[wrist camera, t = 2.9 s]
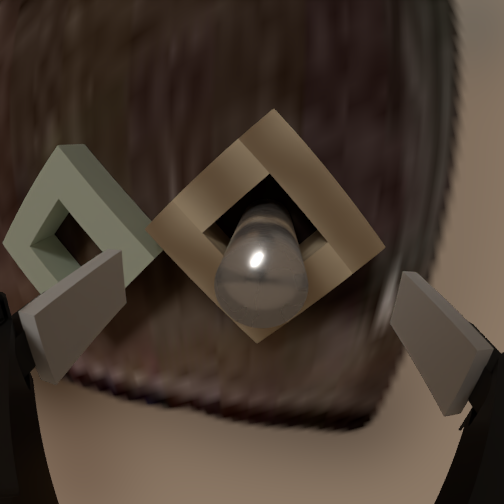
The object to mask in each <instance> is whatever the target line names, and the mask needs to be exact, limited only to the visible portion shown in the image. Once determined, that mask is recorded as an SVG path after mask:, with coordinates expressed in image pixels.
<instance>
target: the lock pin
mask: <svg viewBox="0 0 504 504" xmlns="http://www.w3.org/2000/svg"><path fill="white" fill-rule="evenodd" d="M214 289H215V295H216V298H217V301H218V303H219V304H220V306H221V308H222V309H223V310H224V312H225V313H226V314H227V315H228V316H230V317H231V318H232V319H233V320H235V321H237V322H238V323H240V324H243V325H245V326H249V327H253V328H271V327H275V326H278V325H281V324H283V323H285V322H287V321H289V320H290V319H292V318H293V317H294V316H295V315H296V314H297V313H298V312H299V311H300V310H301V308H302V307H303V305H304V303H305V301H306V298H307V294H308V278H307V274H306V270H305V266H304V263H303V259H302V255H301V252H300V248H299V244H298V241H297V237H296V234H295V230H294V226H293V223H292V219H291V216H290V214H289V212H288V210H287V209H286V207H285V206H284V205H283V204H281V203H280V202H278V201H276V200H273V199H260V200H257V201H254V202H253V203H251V204H250V205H249V206H248V207H247V208H246V209H245V211H244V212H243V214H242V217H241V219H240V221H239V223H238V225H237V227H236V230H235V232H234V234H233V236H232V238H231V241H230V243H229V245H228V247H227V249H226V251H225V254H224V256H223V258H222V260H221V263H220V265H219V267H218V269H217V272H216V275H215V281H214Z"/></svg>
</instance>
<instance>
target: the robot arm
mask: <svg viewBox="0 0 504 504" xmlns="http://www.w3.org/2000/svg"><path fill="white" fill-rule="evenodd" d="M126 303H127V302H126V293H125V284H124V273H123V261H122V250H115V249H107V250H106V251H104V252H103V253H101V254H99V255H98V256H96V257H95V258H93V259H92V260H90V261H89V262H87V263H86V264H84V265H83V266H81V267H80V268H78V269H77V270H75V271H74V272H72V273H71V274H70V275H68V276H67V277H65V278H64V279H62V280H61V281H59V282H58V283H57V284H55V285H54V286H52V287H51V288H49V289H48V290H47V291H45V292H43V293H42V294H40V295H39V296H37V297H36V299H33V300H32V301H31V302H30V303H29V304H26V305H25V306H24V307H22V308H21V309H20V310H18V311H17V312H16V313H14V314H13V315H12V316H11V313H10V310H9V306H8V302H7V298H6V294H4V293H3V292H0V504H59V503H58V500H57V497H56V494H55V490H54V487H53V484H52V480H51V477H50V473H49V469H48V465H47V461H46V457H45V452H44V448H43V443H42V438H41V433H40V427H39V421H38V415H37V409H36V401H35V393H34V384H33V378H32V376H31V373H30V372H31V370H32V369H33V368H34V367H35V366H36V369H37V372H38V374H39V377H40V379H41V380H44V381H46V382H49V383H52V384H54V385H57V384H58V382H59V381H60V380H61V379H62V377H63V376H64V375H65V374H66V372H67V371H68V370H69V369H70V368H71V366H72V365H73V364H74V363H75V362H76V360H77V359H78V358H79V357H80V356H81V354H82V353H83V352H84V351H85V350H86V348H87V347H88V346H89V345H90V344H91V343H92V341H93V340H94V339H95V338H96V337H97V336H98V334H99V333H100V332H101V331H102V330H103V329H104V328H105V326H106V325H107V324H108V323H109V322H110V321H111V320H112V318H113V317H114V316H115V315H116V314H117V313H118V312H119V311H120V310H121V308H122V307H123V306H124V305H125V304H126ZM390 324H391V326H392V327H393V329H394V331H395V332H396V334H397V335H398V337H399V339H400V340H401V342H402V344H403V345H404V347H405V348H406V350H407V352H408V353H409V355H410V357H411V358H412V360H413V362H414V364H415V365H416V367H417V369H418V370H419V372H420V374H421V376H422V377H423V379H424V381H425V383H426V384H427V386H428V388H429V390H430V391H431V393H432V395H433V397H434V399H435V400H436V402H437V404H438V406H439V408H440V410H441V411H442V413H443V415H444V416H450V415H455V414H459V413H461V412H462V410H463V408H464V407H465V405H466V403H467V401H468V400H469V402H470V403H471V405H472V409H471V411H470V412H469V414H468V415H467V417H466V418H465V420H464V422H463V424H462V425H461V426H460V428H459V430H462V428H463V427H464V429H463V433H462V436H461V439H460V442H459V445H458V448H457V450H456V453H455V456H454V459H453V462H452V464H451V467H450V469H449V472H448V474H447V477H446V479H445V481H444V484H443V486H442V488H441V491H440V493H439V495H438V497H437V499H436V501H435V503H434V504H504V352H503V353H502V354H501V353H500V352H499V351H498V350H497V349H496V348H495V347H494V346H493V345H492V344H491V343H490V341H489V340H488V339H487V338H485V336H484V335H483V334H482V333H480V331H479V330H478V329H477V328H476V327H475V326H474V325H473V324H472V323H470V322H468V321H467V320H466V319H465V318H464V317H463V316H462V315H461V314H460V313H459V312H458V311H457V310H456V309H455V308H454V307H453V306H452V305H451V304H450V303H449V302H448V301H447V300H446V299H445V298H444V297H443V296H442V295H440V294H439V293H438V292H437V291H436V290H435V289H434V288H433V287H432V286H431V285H430V284H429V283H428V282H427V281H425V280H424V279H423V278H422V277H421V276H420V275H419V274H418V273H417V272H407V271H403V272H402V276H401V281H400V285H399V289H398V293H397V298H396V302H395V305H394V309H393V313H392V317H391V320H390Z"/></svg>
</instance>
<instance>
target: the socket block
mask: <svg viewBox="0 0 504 504" xmlns="http://www.w3.org/2000/svg"><path fill="white" fill-rule="evenodd" d="M69 212H70V214H71V215H72V216H73V217H74V218H75V220H76V221H77V222H78V223H79V225H80V226H81V227H82V228H83V229H84V231H85V232H86V233H87V234H88V235H89V236H90V238H91V239H92V240H93V241H94V242H95V243H96V245H97V246H98V247H99V248H100V249H101V250H102V251H103V252H104V251H106V250H107V249H115V250H122V261H123V273H124V284H125V288H126V287H127V286H128V285H129V284H130V283H131V282H132V281H133V280H134V279H135V278H136V277H137V276H138V275H139V274H140V273H141V272H142V271H143V270H144V269H145V268H146V267H147V266H148V265H149V264H150V263H151V262H152V261H153V260H154V259H155V258H156V257H157V256H158V255H159V254H160V253H161V252H162V251H163V249H162V248H161V247H160V246H159V245H158V244H157V242H156V241H155V240H154V239H153V238H152V237H151V236H150V235H149V234H148V233H147V232H146V230H145V228H146V227H147V226H148V225H149V224H150V223H151V222H152V221H151V220H150V219H149V218H148V217H147V216H146V215H145V214H144V213H143V211H142V210H141V209H140V208H139V207H138V206H137V205H136V204H135V202H134V201H133V200H132V199H131V198H130V197H129V196H128V195H127V193H126V192H125V191H124V190H123V189H122V188H121V187H120V185H119V184H118V183H117V182H116V181H115V180H114V179H113V177H112V176H111V175H110V174H109V173H108V172H107V170H106V169H105V168H104V167H103V166H102V165H101V163H100V162H99V161H98V160H97V159H96V157H95V156H94V155H93V154H92V153H91V152H90V150H89V149H88V148H87V147H86V146H85V144H75V145H58V146H57V147H56V149H55V150H54V152H53V153H52V155H51V156H50V158H49V159H48V161H47V162H46V164H45V166H44V167H43V169H42V170H41V172H40V174H39V175H38V177H37V179H36V180H35V182H34V184H33V185H32V187H31V189H30V191H29V192H28V194H27V196H26V198H25V199H24V201H23V203H22V205H21V207H20V209H19V211H18V213H17V215H16V216H15V218H14V220H13V222H12V225H11V227H10V229H9V231H8V233H7V235H6V237H5V239H4V241H3V245H4V246H5V248H6V249H7V251H8V252H9V253H10V255H11V256H12V258H13V259H14V260H15V262H16V263H17V264H18V266H19V267H20V268H21V270H22V271H23V272H24V274H25V275H26V276H27V278H28V279H29V280H30V281H31V283H32V284H33V285H34V286H35V288H36V289H37V290H38V291H39V293H40V294H42V293H43V292H45V291H47V290H48V289H49V288H51V287H52V286H54V285H55V284H57V283H58V282H59V281H61V280H62V279H64V278H65V277H67V276H68V275H70V274H71V273H72V272H74V271H75V270H77V269H78V268H80V267H81V266H80V265H79V263H78V262H77V261H76V260H75V259H74V258H73V256H72V255H71V254H70V253H69V252H68V250H67V249H66V248H65V247H64V246H63V244H62V243H61V242H60V241H59V239H58V238H57V237H56V236H55V233H56V231H57V230H58V228H59V227H60V225H61V224H62V222H63V221H64V219H65V218H66V216H67V215H68V213H69Z"/></svg>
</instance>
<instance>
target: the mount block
mask: <svg viewBox="0 0 504 504" xmlns="http://www.w3.org/2000/svg"><path fill="white" fill-rule="evenodd" d="M268 174H271V175H272V177H273V178H274V179H275V180H276V181H277V182H278V183H279V185H280V186H281V187H282V188H283V189H284V190H285V191H286V193H287V194H288V195H289V196H290V197H291V198H292V200H293V201H294V202H295V203H296V204H297V205H298V207H299V208H300V209H301V210H302V211H303V213H304V214H305V215H306V216H307V217H308V219H309V220H310V221H311V222H312V223H313V225H314V226H315V227H316V228H317V229H318V230H317V231H315V232H314V233H313V234H312V235H310V236H309V237H308V238H307V239H305V240H304V241H303V242H302V243H301V244H299V248H300V252H301V255H302V259H303V263H304V266H305V270H306V274H307V278H308V294H307V298H306V301H305V303H304V305H303V307H302V308H301V310H300V311H299V312H298V313H297V314H296V315H295V316H294V317H296V316H297V315H299V314H300V313H301V312H303V311H304V310H306V309H307V308H308V307H310V306H311V305H312V304H314V303H315V302H316V301H318V300H319V299H320V298H322V297H323V296H324V295H326V294H327V293H328V292H330V291H331V290H332V289H334V288H335V287H336V286H338V285H339V284H340V283H342V282H343V281H344V280H345V279H347V278H348V277H349V276H351V275H352V274H353V273H354V272H356V271H357V270H358V269H359V268H361V267H362V266H363V265H364V264H366V263H367V262H368V261H369V260H371V259H372V258H373V257H374V256H376V255H377V254H378V253H379V252H380V251H382V250H383V249H384V248H385V246H384V244H383V243H382V241H381V240H380V239H379V237H378V236H377V234H376V233H375V232H374V230H373V229H372V227H371V226H370V225H369V223H368V222H367V220H366V219H365V218H364V216H363V215H362V214H361V212H360V211H359V210H358V208H357V207H356V206H355V204H354V203H353V202H352V200H351V199H350V198H349V196H348V195H347V194H346V193H345V191H344V190H343V189H342V187H341V186H340V185H339V184H338V182H337V181H336V180H335V179H334V177H333V176H332V175H331V174H330V172H329V171H328V170H327V169H326V167H325V166H324V165H323V164H322V163H321V161H320V160H319V159H318V158H317V157H316V155H315V154H314V153H313V152H312V151H311V149H310V148H309V147H308V146H307V145H306V144H305V142H304V141H303V140H302V139H301V138H300V137H299V136H298V134H297V133H296V132H295V131H294V130H293V129H292V128H291V127H290V125H289V124H288V123H287V122H286V121H285V120H284V119H283V118H282V117H281V116H280V114H279V113H278V112H277V111H276V110H275V109H273V110H271V111H270V112H269V113H268V114H267V115H265V116H264V117H263V118H262V119H261V120H259V121H258V122H257V123H256V124H255V125H254V126H252V127H251V128H250V129H249V130H248V131H247V132H245V133H244V134H243V135H242V136H241V137H240V138H239V139H237V140H236V141H235V142H234V143H233V144H232V145H231V146H230V147H228V148H227V149H226V150H225V151H224V152H223V153H222V154H221V155H220V156H218V157H217V158H216V159H215V160H214V161H213V162H212V163H211V164H210V165H209V166H208V167H207V168H205V169H204V170H203V171H202V172H201V173H200V174H199V175H198V176H197V177H196V178H195V179H194V180H193V181H192V182H191V183H190V184H189V185H188V186H187V187H186V188H185V189H184V190H183V191H181V192H180V193H179V194H178V195H177V196H176V197H175V198H174V199H173V200H172V201H171V202H170V203H169V204H168V205H167V206H166V207H165V208H164V209H163V210H162V212H161V213H160V214H159V215H158V216H157V217H156V218H155V219H154V220H153V221H152V222H151V223H150V224H149V225H148V226H147V227H146V228H145V230H146V232H147V233H148V234H149V235H150V236H151V237H152V238H153V239H154V240H155V241H156V242H157V244H158V245H159V246H160V247H161V248H162V249H163V250H164V251H165V252H166V253H167V254H168V255H169V256H170V257H171V258H172V260H173V261H174V262H175V263H176V264H177V265H178V266H179V267H180V268H181V269H182V270H183V271H184V272H185V273H186V274H187V275H188V276H189V277H190V278H191V279H192V280H193V281H194V282H195V283H196V284H197V285H198V287H199V288H200V289H201V290H202V291H203V292H204V293H205V294H206V295H207V296H208V297H209V298H210V299H211V300H212V301H213V302H214V303H215V304H216V305H217V306H218V307H219V308H220V309H221V310H222V311H223V312H224V310H223V309H222V308H221V306H220V304H219V303H218V301H217V298H216V295H215V289H214V281H215V275H216V272H217V269H218V267H219V265H220V263H221V260H222V258H223V256H224V254H225V251H226V249H227V247H228V245H229V243H230V241H231V239H230V238H229V237H228V236H227V235H226V234H225V233H224V232H223V231H222V229H221V228H220V227H219V226H218V225H217V224H216V223H215V221H216V220H217V219H218V218H219V217H220V216H222V215H223V214H224V213H225V212H226V211H227V210H228V209H229V208H231V207H232V206H233V205H234V204H235V203H236V202H237V201H238V200H240V199H241V198H242V197H243V196H244V195H245V194H246V193H248V192H249V191H250V190H251V189H252V188H253V187H254V186H256V185H257V184H258V183H259V182H260V181H261V180H263V179H264V178H265V177H266V176H267V175H268ZM224 313H225V312H224ZM225 314H226V313H225ZM226 315H227V314H226ZM229 317H230V316H229ZM294 317H293V318H294ZM230 318H231V317H230ZM293 318H292V319H293ZM231 319H232V318H231ZM292 319H290V320H292ZM232 320H233V319H232ZM290 320H289V321H290ZM233 321H234V322H235V323H236V324H237V325H238V326H239V327H240V328H241V329H242V330H243V331H244V332H245V333H246V334H247V335H248V336H249V337H250V338H251V339H252V340H253V341H255V342H256V343H259V342H260V341H262V340H263V339H264V338H266V337H267V336H269V335H270V334H272V333H273V332H275V331H276V330H278V329H279V328H280V327H282V326H283V325H285V324H286V323H287V322H289V321H287V322H285V323H283V324H281V325H278V326H275V327H271V328H253V327H249V326H245V325H243V324H240V323H238V322H237V321H235V320H233Z"/></svg>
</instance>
